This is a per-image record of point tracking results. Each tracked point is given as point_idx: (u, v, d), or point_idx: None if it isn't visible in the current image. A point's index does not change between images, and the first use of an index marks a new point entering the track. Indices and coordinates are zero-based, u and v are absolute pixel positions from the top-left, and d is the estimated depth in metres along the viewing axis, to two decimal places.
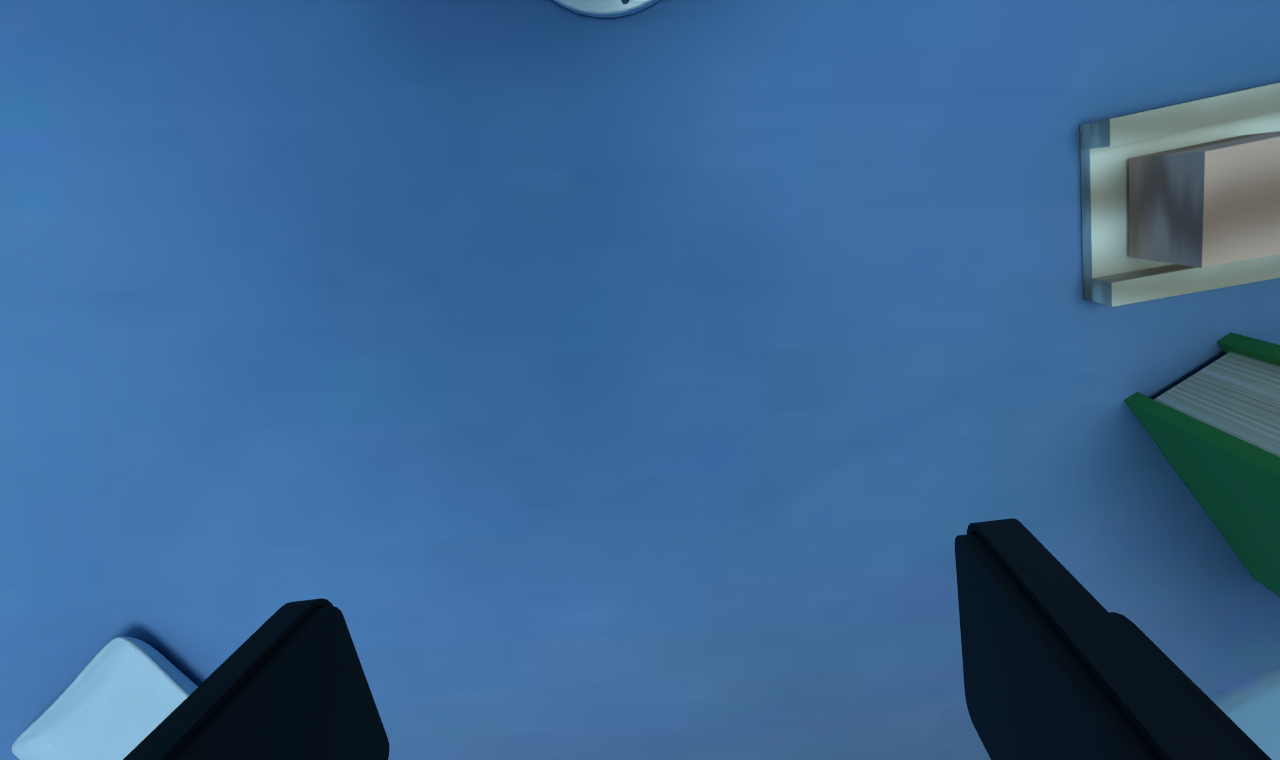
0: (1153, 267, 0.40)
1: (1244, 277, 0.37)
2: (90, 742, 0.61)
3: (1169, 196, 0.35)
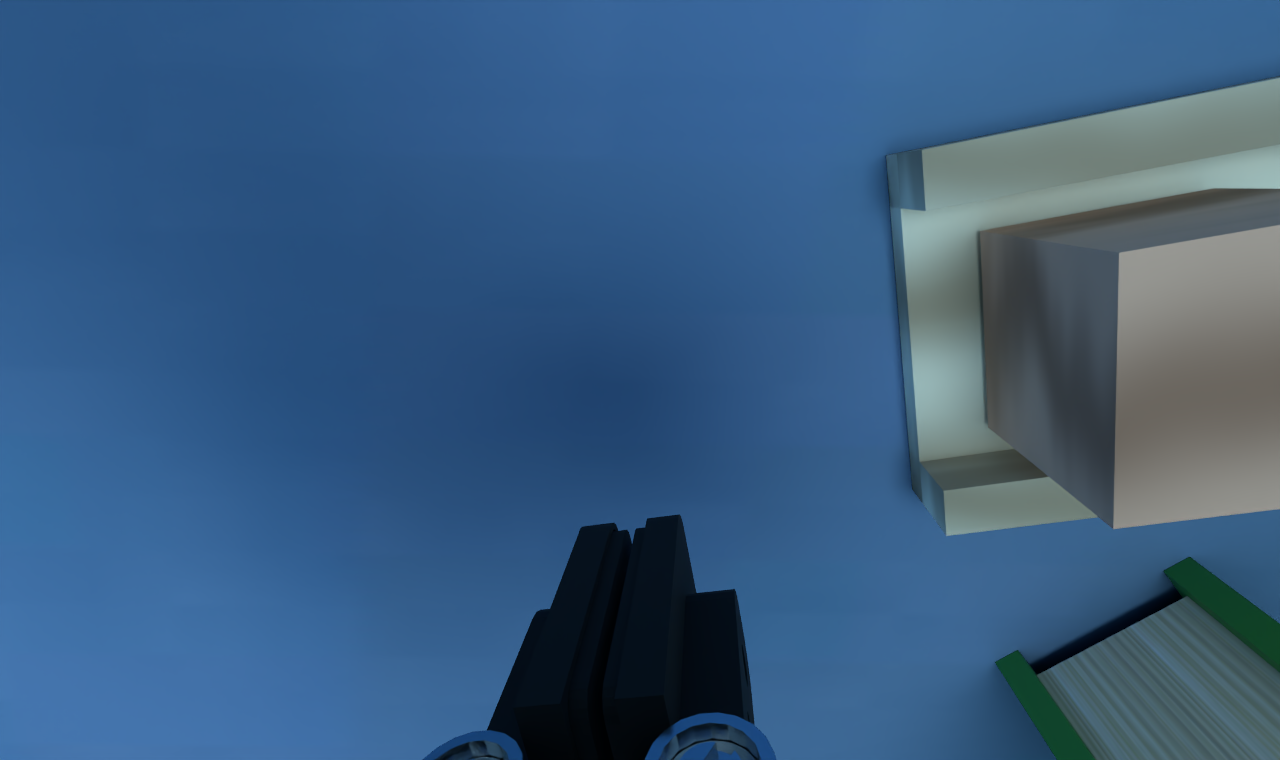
0: None
1: None
2: None
3: (1047, 336, 0.15)
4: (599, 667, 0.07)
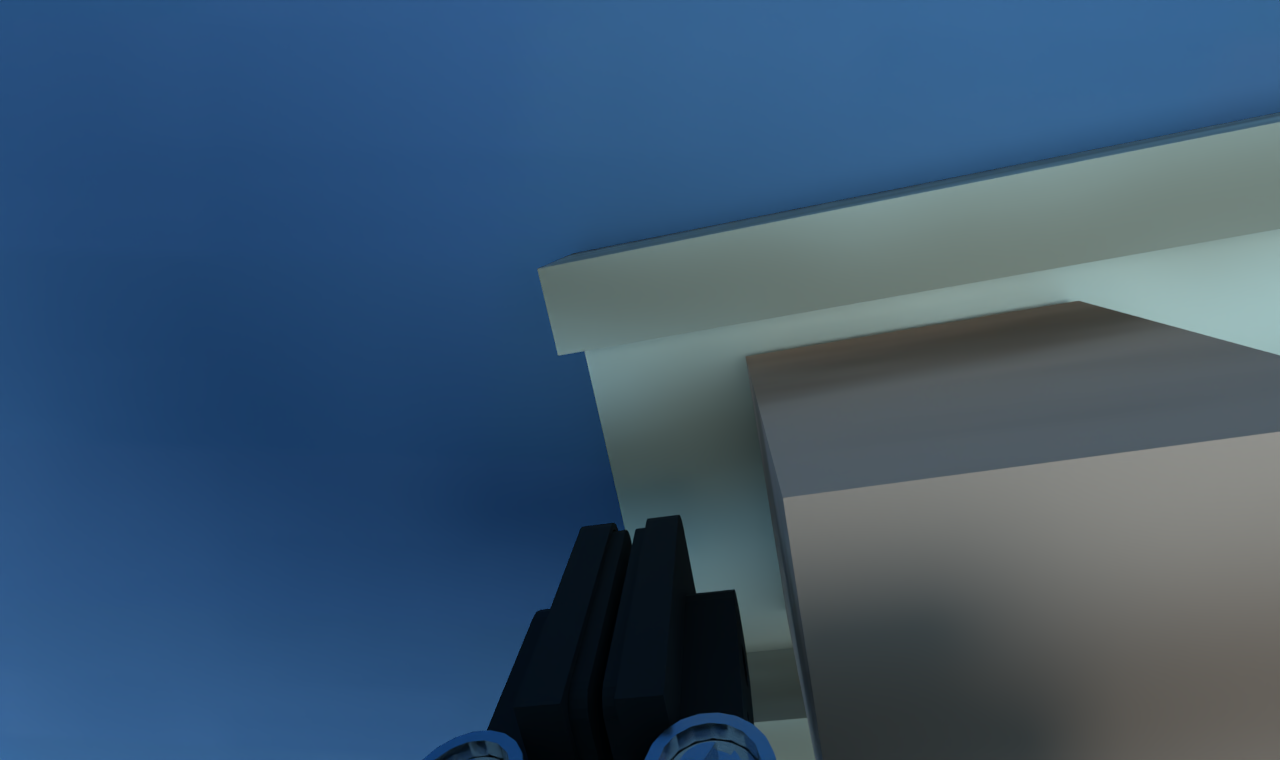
0: None
1: None
2: None
3: (783, 556, 0.09)
4: (599, 667, 0.07)
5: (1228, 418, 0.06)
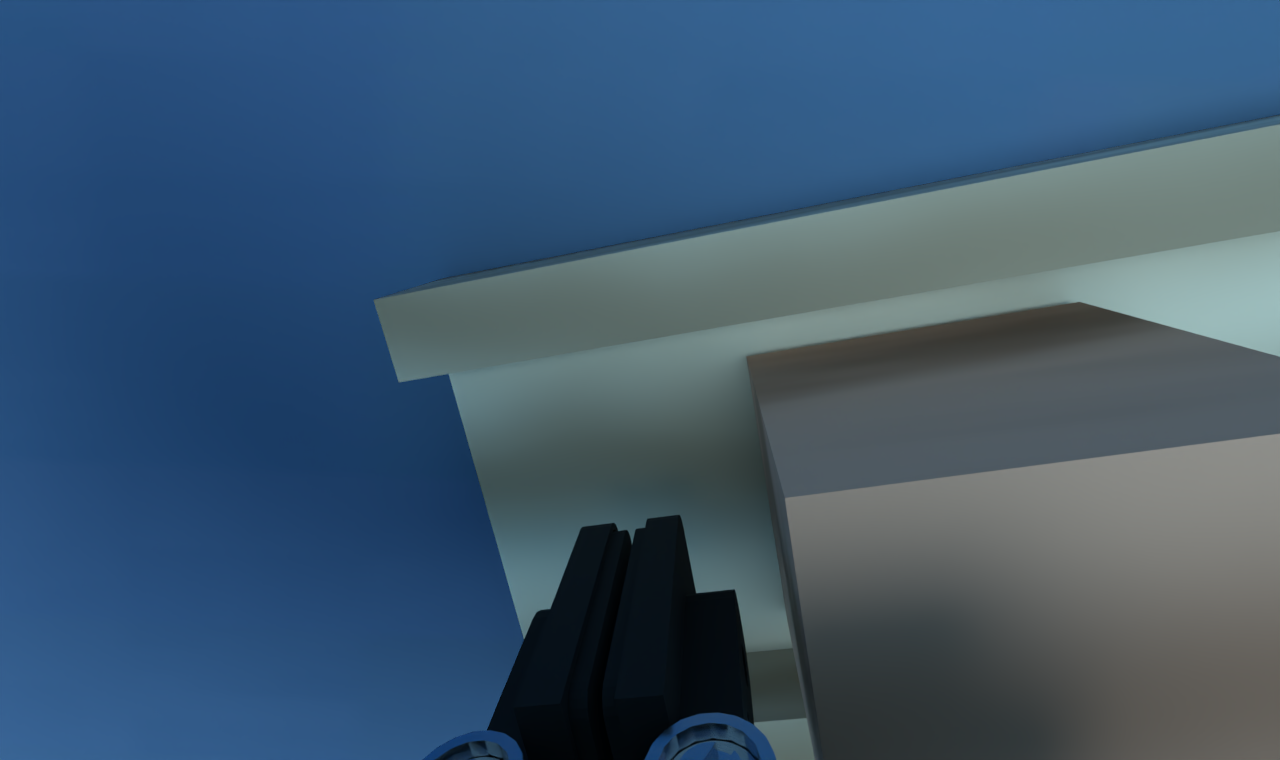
0: None
1: None
2: None
3: (783, 556, 0.09)
4: (599, 667, 0.07)
5: (1229, 421, 0.06)
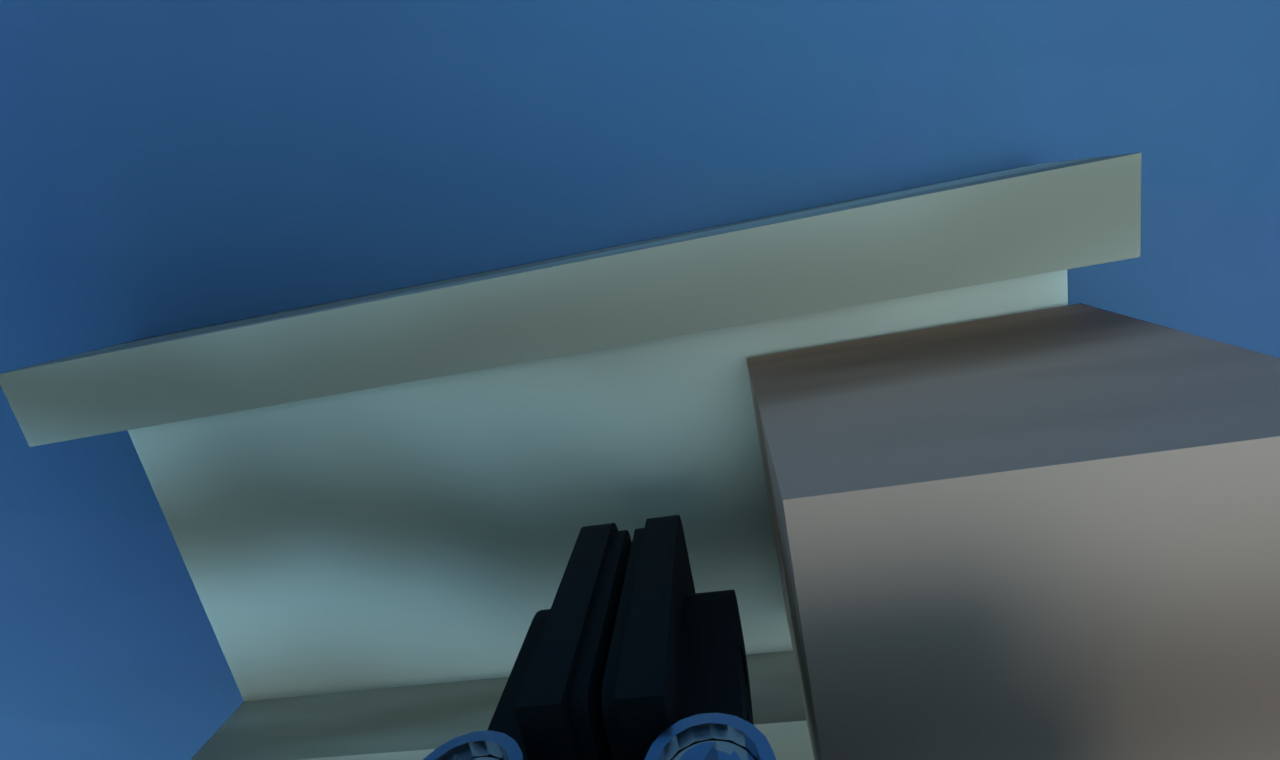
0: (366, 690, 0.16)
1: None
2: None
3: (783, 558, 0.09)
4: (599, 667, 0.07)
5: (1228, 422, 0.06)
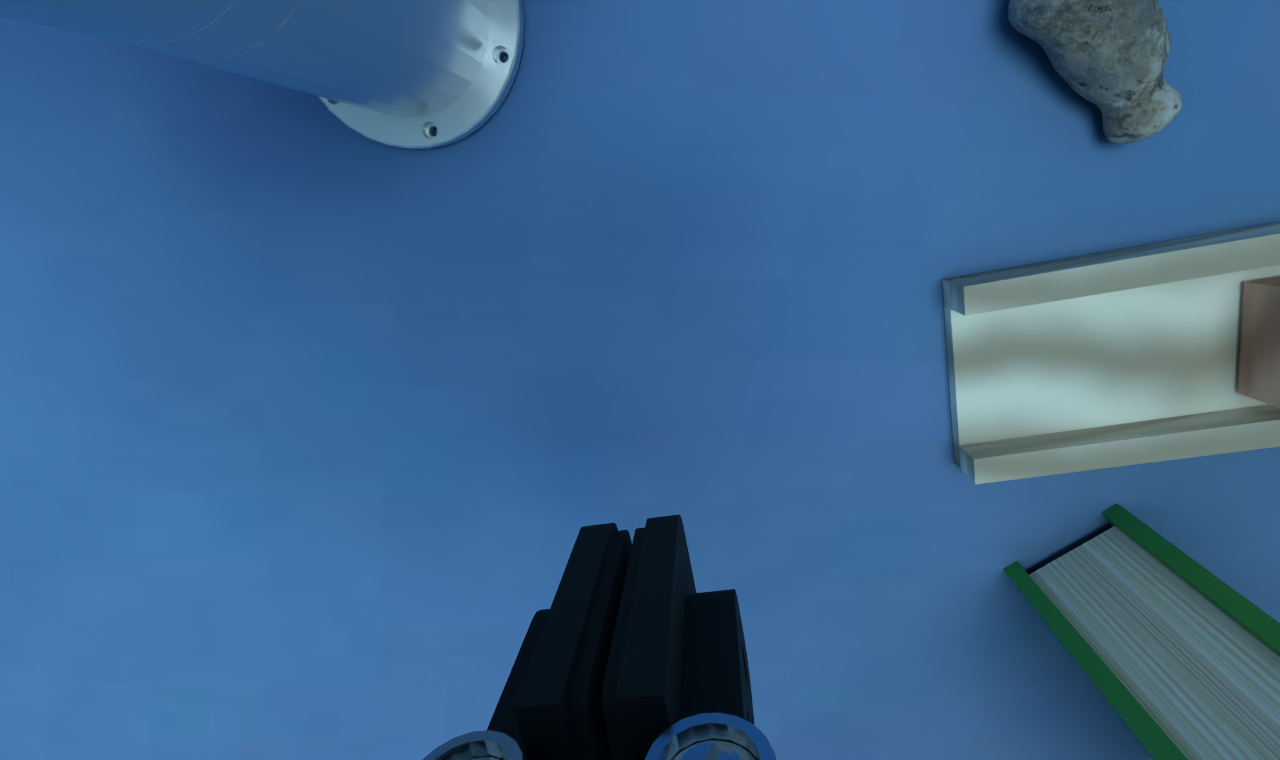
0: (1025, 436, 0.35)
1: (1119, 459, 0.33)
2: None
3: None
4: (599, 667, 0.07)
5: None
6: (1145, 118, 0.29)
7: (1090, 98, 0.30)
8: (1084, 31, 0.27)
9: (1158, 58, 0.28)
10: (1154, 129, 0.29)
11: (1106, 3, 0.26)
